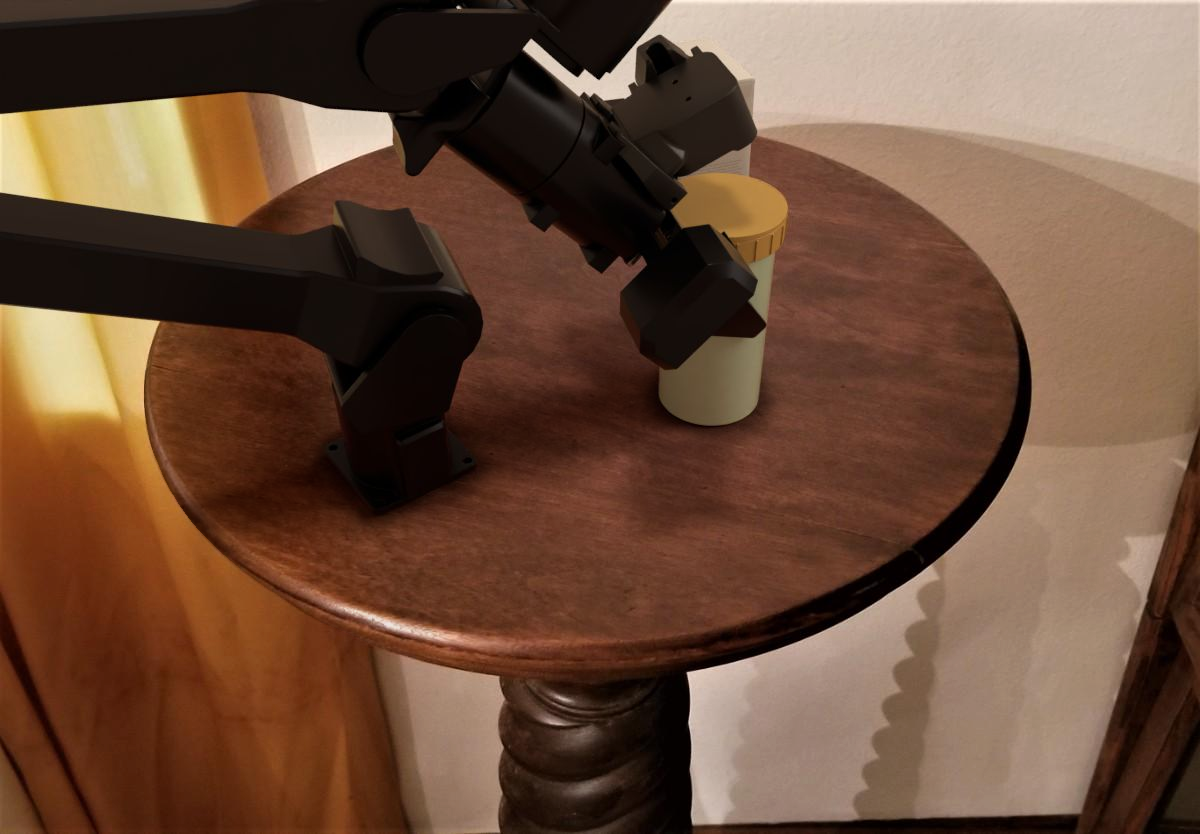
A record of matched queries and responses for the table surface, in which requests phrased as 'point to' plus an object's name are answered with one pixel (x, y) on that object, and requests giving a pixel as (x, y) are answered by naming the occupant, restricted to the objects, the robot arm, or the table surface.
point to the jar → (721, 369)
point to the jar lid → (736, 211)
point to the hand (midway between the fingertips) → (739, 298)
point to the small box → (741, 159)
